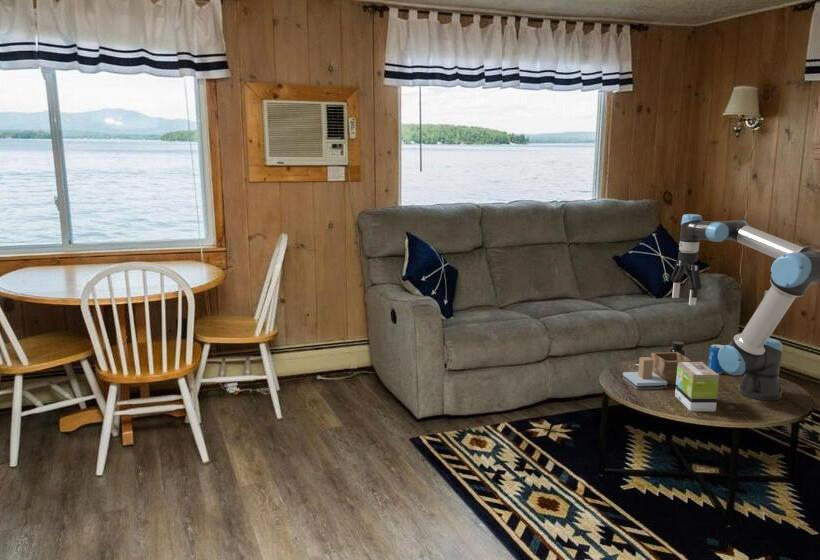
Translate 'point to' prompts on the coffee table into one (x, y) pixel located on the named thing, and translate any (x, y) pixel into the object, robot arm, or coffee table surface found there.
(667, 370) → the box
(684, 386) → the tea box
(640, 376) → the lid
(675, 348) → the supplement bottle
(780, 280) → the robot arm
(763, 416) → the coffee table surface
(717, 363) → the beverage can
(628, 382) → the mat
